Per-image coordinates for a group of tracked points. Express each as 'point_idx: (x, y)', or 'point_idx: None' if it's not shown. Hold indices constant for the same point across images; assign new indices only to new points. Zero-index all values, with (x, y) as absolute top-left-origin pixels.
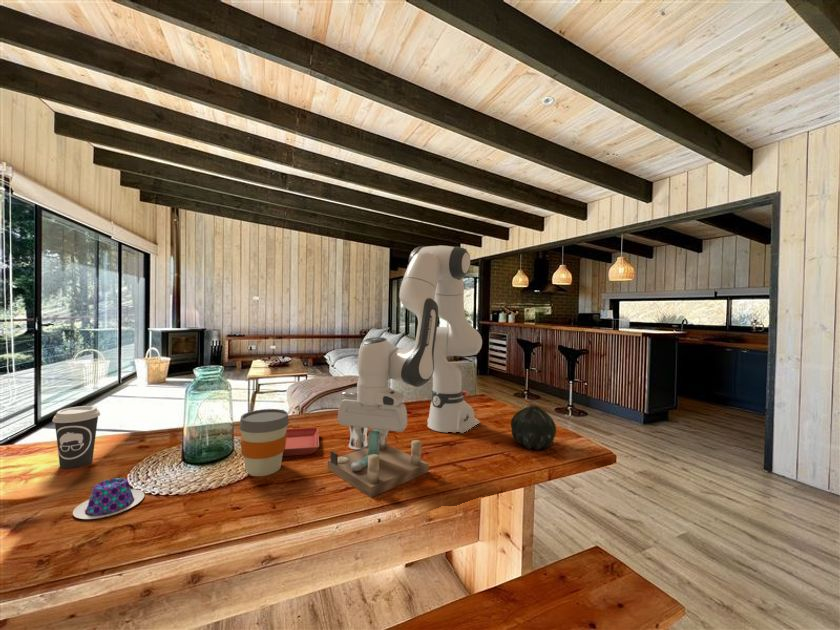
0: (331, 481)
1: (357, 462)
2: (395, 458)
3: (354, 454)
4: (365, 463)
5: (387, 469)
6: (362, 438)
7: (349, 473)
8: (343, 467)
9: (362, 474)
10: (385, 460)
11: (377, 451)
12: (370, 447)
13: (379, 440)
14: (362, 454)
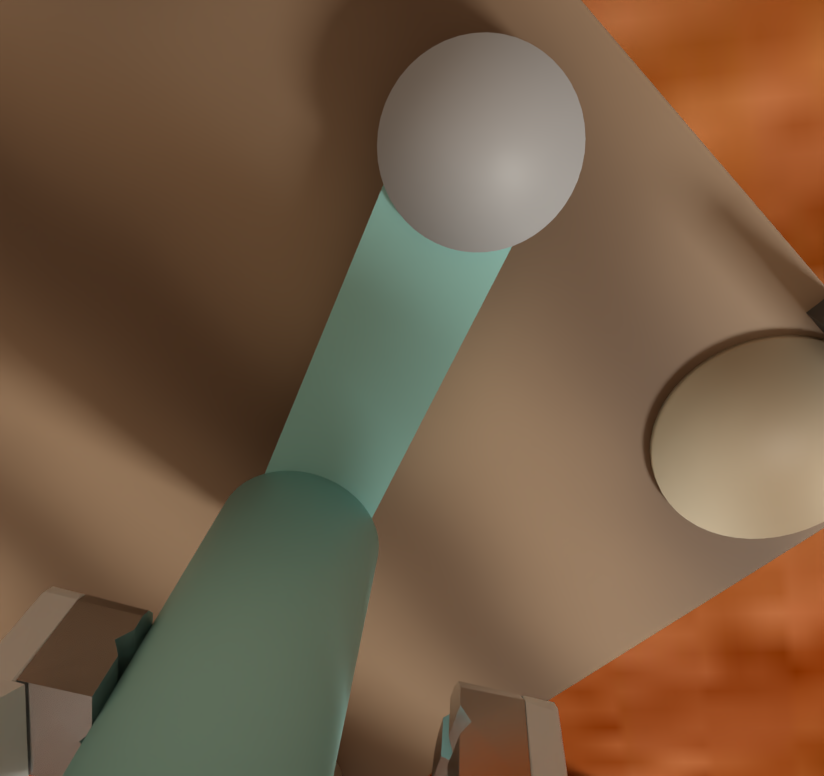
0: (820, 54)
1: (483, 221)
2: (56, 528)
3: (585, 610)
4: (356, 254)
5: (46, 220)
6: (463, 747)
7: (584, 14)
8: (704, 227)
9: (363, 1)
10: (157, 474)
11: (210, 532)
12: (303, 567)
13: (71, 661)
14: (482, 612)
